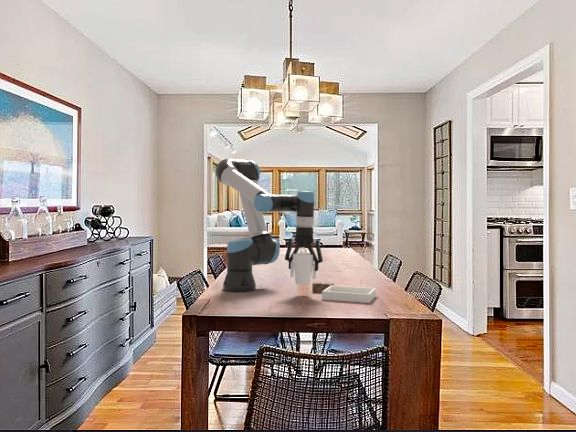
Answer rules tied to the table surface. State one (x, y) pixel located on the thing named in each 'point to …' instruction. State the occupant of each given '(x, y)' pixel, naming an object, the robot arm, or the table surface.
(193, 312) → the table surface
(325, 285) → the walnut block
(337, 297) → the tray
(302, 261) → the foam cup
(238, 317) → the table surface
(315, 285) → the walnut block
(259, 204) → the robot arm
